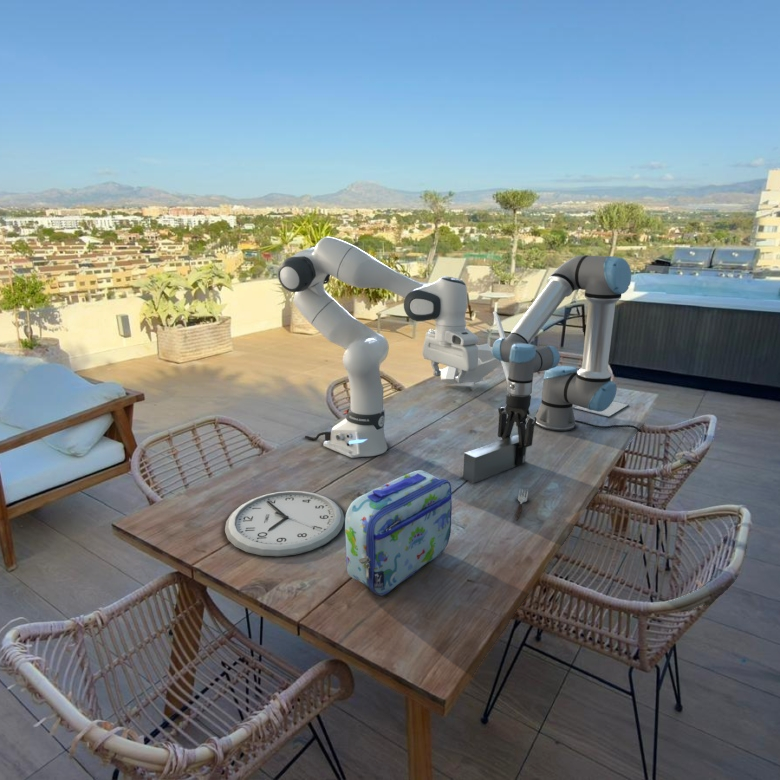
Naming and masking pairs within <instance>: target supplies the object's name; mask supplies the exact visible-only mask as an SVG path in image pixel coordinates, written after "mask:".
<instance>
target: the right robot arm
mask: <svg viewBox="0 0 780 780" xmlns="http://www.w3.org/2000/svg"><path fill="white" fill-rule="evenodd" d="M631 282H632V270H631V267H630V264H629V263H628V261H627V260H626V259H624V258H623V257H617V256H611V255H609V256H608V255H587V254H580V255H576V256H574V257H572V258H570V259H569V260H566V261H565V262H563V263H562V264H561V265H560V266H559V267H557V268H556V269H554V271H553V272H552V274H551V275H550V276H549V277H548V279H547V282H546V283H547V285H546V286H545V287H544V289H542V291H541V292H540V294H539V295H538V296H537V298H536V299H535V300H534V302H532V304H531V305H530V307H529V308H528V309H527V311H526V312H525V313H524V314H523V316H522V317H521V319H519V321H518V323H517V324H516V325H515V326H514V328H513V329H512V330H511V331H510V333H509V334H508V335H507V337H506V339H505V338H500V337H499V338H498V339H496V340H495V341H494V342H493V344H492V347H491V348H492V353H493V356H494V357H495V358H496V359H498V360H501V361H503V362H507V364H508V368H509V376H508V384H507V386H506V392H507V393H506V396H505V406H502V407H498V409H497V410H498V427H497V436H498V437H499V438H501V440H503V439H506V438H509V437H511V435H512V432H513V428H514V426H515V425H516V427H517V435H518V438H519V446H517V451H516V462H515V465H516V466H515V467H518V466H521V465H523V464H522V462H523V456H525V451H526V452H527V448H529V447H531V446H532V445H533V439H534V430H535V425H536V426H537V427H539V428H542V429H544V430H549V431H556V432H567V431H572V430H574V429H575V428H576V423H577V424H582V425H585V426H589V427H591V428H592V427H593V428H598V429H611V428H632V429H635V430H636V431H637V432H639V433H642V432H643V431H642V429H640V428H639V427H637V426H635V425H632V424H612V425H597V424H593V423H589V422H585V421H581V420H578V419H576V418H575V417H576V416H575V413H574V407H573V405H574V406H580V407H583V408H586V409H589V410H594V411H598V412H601V411H604V410H605V409H607V408H608V407H609V406H610V404H611V403H612V402H613V401H614V400H615V398H616V394H617V389H618V387H617V384H616V382H614V381H613V380H612V373H611V372H610V371H609V369H608V367H609V359H610V353H611V352H610V351H611V343H612V335H613V326H614V319H615V310H616V303H617V302H618V301H619V300H621V298H622V295H623V294H626V293H627V292H628V290H629V287H630V286H631ZM577 290H583V291H584V298H585V299H586V300H587V302H588V305H587V315H586V316H587V317H586V322H585V323H586V325H585V334H584V341H583V343H584V344H583V353H582V361H581V362H582V364H581V367H580V368H579V369H578V368H577V367H576V366H571V365H570V366H569V365H559V364H560V362H561V354H560V352H559V349H558V348H556V346H553V345H543V346H540V345H536V344H531V343H532V342H533V341H534V339H535V338H536V337H537V335H538V334H539V333H540V332H541V330H542V329H543V327H544V326H545V325H546V323H547V322H548V321H549V319H550V318H551V317H552V315H553V314H554V313H555V312H556V310H557V309H558V308H559V306H560V304H562V302H563V301H564V300H565V298H568V297H570V296H571V295H572V294H573V292H575V291H577ZM541 372H544V375H543V378H542V379H543V381H542V382H543V383H542V394H541V402H540V405H539V407H538V409H537V411H536V413H535V416H532V415H531V414H530V410H529V409H530V407H531V403H532V402H531V401H532V395H531V394H532V392H533V391H532V390H533V382H534V381H533V380H534V374H535V373H541ZM526 447H527V448H526Z"/></svg>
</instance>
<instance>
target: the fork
mask: <svg viewBox="0 0 780 780" xmlns="http://www.w3.org/2000/svg"><path fill="white" fill-rule="evenodd" d="M526 490H527V488H525V489H521V487H519V492H518V495H517V501H518V502H519V505H518V507H517V508H516V509H517V510H516V521H518V520H519V518H520V515H521V513H522V511H523V503H526V502H527V501H528V495H529V490H527V491H526Z"/></svg>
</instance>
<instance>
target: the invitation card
mask: <svg viewBox="0 0 780 780" xmlns="http://www.w3.org/2000/svg"><path fill="white" fill-rule="evenodd" d="M628 406H629V404H627V403H623V402H618V401H614V400H613V402H612V403H611V404H610V406H609V407H608V408H607V409H605V410H604V411H601V412H598V411H594V410H589V409H586V408H583V407H580V406H577V405H575V406H574V407H573V409H575V410H581V411H584V412H587V413H593V414H596V415H600V416H604V417H608V418H609V417H611V416H613V415H614V414H616V413H617V412H619V411H621V410H623V409H624V408H626V407H628Z"/></svg>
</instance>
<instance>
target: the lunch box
mask: <svg viewBox="0 0 780 780" xmlns="http://www.w3.org/2000/svg"><path fill="white" fill-rule="evenodd" d="M452 503H453V501H452V484H451V483H450V481H449V480H448V479H445V478H438V477H436V476H435V475H433V474H431V473H429V472H427V471H424V470H422V469H418V470H414V471H411V472H409V473H407V474H404V475H402V476H399V477H398V478H396V479H393V480H391V481H388V482H387V483H385V484H382V485H381V486H379V487H377V488H373V489H372V490H370V491H368V492H367V493H363V494H362V495H360V496H358V497H356V498H355V499H354V500H353V501H352V502H351V503H350V504H349V506H348V508H347V511H346V513H345V516H344V535H345V561H346V571H347V574H348V576H349V577H350V578H352V579H354V580H356V581H358V582H359V583H361V584H363V585H364V586H366V587H367V588H369V590H370V591H371V592H372V593H374V594H376V595H378V596H385V595H386V594H389V593H390V592H391V591H392V590H393V589H395V588H396V587H397V586H398V585H400V584H401V583H402V582H404V581H405V580H407V579H409V578H410V577H411V576H412V575H414V574H415V573H416V572H418V571H419V570H420V569H421V568H422V567H424V566H425V565H427V564H428V563H430V562H431V561H433V560H435V559H436V558H438V557H440V556H441V554H442V553H443V552H444V551H445V549H446V548H447V546H448V543H449V540H450V537H451V533H452V532H451V531H452V511H453V510H452V509H453V508H452V507H453V504H452Z"/></svg>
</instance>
